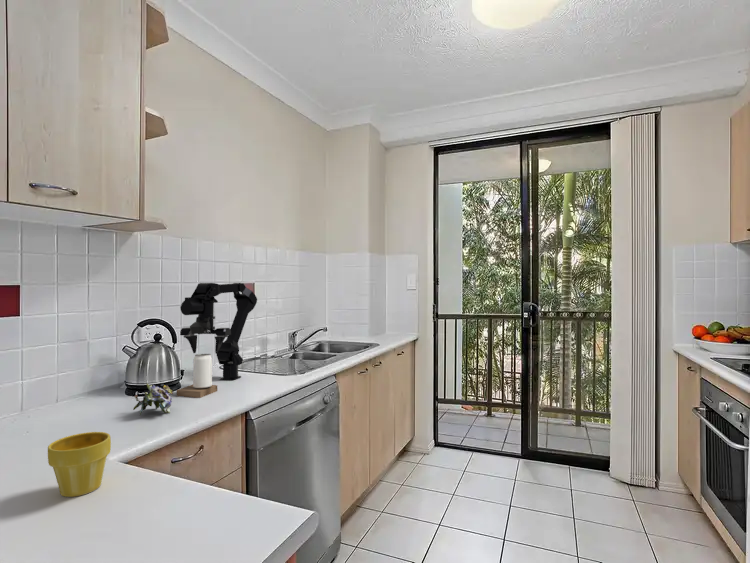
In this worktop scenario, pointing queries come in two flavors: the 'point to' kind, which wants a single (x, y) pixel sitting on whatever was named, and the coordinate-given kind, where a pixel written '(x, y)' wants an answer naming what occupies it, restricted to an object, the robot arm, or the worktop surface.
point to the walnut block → (196, 391)
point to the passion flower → (156, 398)
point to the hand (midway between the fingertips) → (205, 353)
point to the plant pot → (79, 462)
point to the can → (202, 371)
